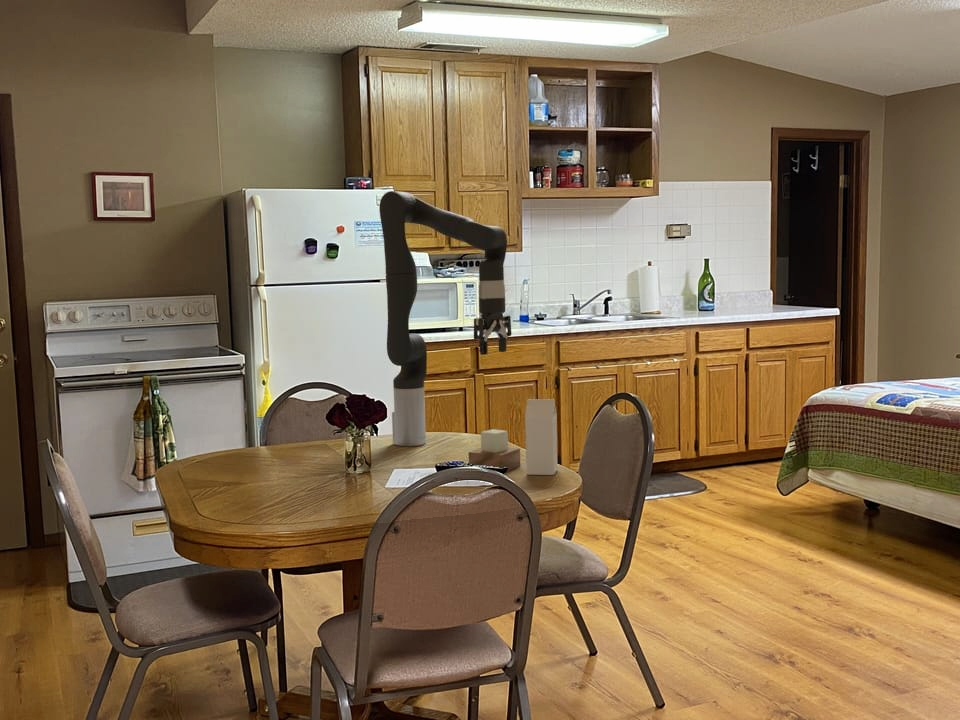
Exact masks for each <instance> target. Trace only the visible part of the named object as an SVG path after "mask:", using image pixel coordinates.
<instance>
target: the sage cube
mask: <svg viewBox="0 0 960 720" xmlns="http://www.w3.org/2000/svg"><path fill="white" fill-rule="evenodd" d="M508 436H509V435H508V430H502V429H493V428H492V429H488V430H483V431H481V432H480V446H481V447H480V448H481V451H487V452H494V453H497V452H501V451H505V450H508V448H509V445H508V444H509V442H508V441H509V440H508V439H509V437H508Z"/></svg>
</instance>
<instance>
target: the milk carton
mask: <svg viewBox="0 0 960 720" xmlns="http://www.w3.org/2000/svg"><path fill="white" fill-rule="evenodd" d="M557 415H558V413H557V409H556V401H555V399H554V398H553V399H552V398H549V399H546V398H544V399H543V398H542V399H541V398H538V399H537V398H532V399H531V398H527V399H526V408H525V415H524V417H525V418H524V421H525V423H524V424H525V425H524V426H525V427H524V428H525V461H526V462H525V467H526V469H525V470H526V471H525V473H526V475H533V476H535V475H536V476H537V475H538V476H540V475H541V476H555V474H556V472H557V471H558V428H557V427H558V423H557V422H558V420H557Z"/></svg>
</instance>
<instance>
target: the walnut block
mask: <svg viewBox="0 0 960 720" xmlns="http://www.w3.org/2000/svg"><path fill="white" fill-rule="evenodd" d="M469 464H474V465H486V466H493V467H499V468H504V467H507V468H508V470H509V471H511V470H513V469H516V468H518V467H521V448H519V447H518V448H517V447H508V450H505V451H501V452H497V453H494V452H487V451H481V447H480V448H477V449H474V450H472V451H469V452H468V465H469Z"/></svg>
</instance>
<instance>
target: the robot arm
mask: <svg viewBox="0 0 960 720" xmlns="http://www.w3.org/2000/svg"><path fill="white" fill-rule="evenodd" d="M379 218H380V222H381V230H382V238H383V247H384V249H383V250H384V262H385V264H384V265H385V287H386V297H387V298H386V300H387V301H386V302H387V304H386V305H387V330H386V332H387V333H386V353H387V356H388V359H389V361H390V363H392V364H393V365H395V366H398V367H401V368H400V371H399V372H398V374H397V375H396V376H395V377H394V378H393V382H392V383H393V406H394V408H393V410H394V411H392V413H391V420H392V421H391V422H392V423H391V424H392V425H391V426H392V427H391V428H392V444H395V445H396V446H401V447H413V446H416V447H417V446H422V445H425V444H426V443H427V440H426V439H427V436H426V431H427V430H426V408H425V407H426V405H425V404H426V403H425V402H426V401H425V397H426V396H425V380H426V377H427V367H428V365H427V363H428V362H427V361H428V357H427V356H428V352H427V351H428V350H427V343H426V342H425V339H424V338H423V337H422V335H420V334H418V333H415V332H414V333H410V329H409V327H410V326H409V323H410V322H409V321H410V313H411V311H412V308H413V305H414V303H415V300H416V296H417V293H418V272H417V264H416V262H415V259H414V257H413V254H412V252H411V250H410V247H409V245H408V241H407V238H406V237H407V236H406V224H416V225H420V226H426V227H428V228H429V229H433V230H434V231H435V232H438V233H440V234H441V235H443V236H446V237H448V238H451V239H453V240H456V241H459V242H462V243H466V244H467V245H469V246H471V247H473V248H476V249H478V250H480V251H484V255H483V256H484V258H483V259H482V260H481V261H480V262H479V265H478V312H479V314H481V317H475V318H474V319H473V340H477V341H478V344H479V345H478V346H479V353H480V355H482V356H485V355H488V353H489V351H488V349H489V348H488V347H489V346H488V339H489V336H490V335H492V333H495V334H496V335H497V337H498V351H499V352H500V353H506V352H507V348H508V347H507V339H508V337H511V336H512V320H511V319H512V318H511V316H510V315H504V313H505V312H506V287H505V276H504V275H505V271H504V266H505V265H504V263H505V259H506V255H507V254H506V253H507V249H508V237H507V234H506V232H505V230H504V229H503V228H502V227H501V226H497V225H487V224H482V223H479V222H476V221H475V220H474V219H472V218H470V217H468V216H464V215H461V214H458V213H455V212H452V211H448V210H445V209H442V208H439V207H437V206H434V205H432V204H429V203H427V202H425V201H423V200H422V199H420V198H419V197H416V196H415V195H414V194H413V195H412V194H411V193H409V192H406V191H398V190H397V191H396V190H390V191H387V192H385V193H384V194H383V195H382V197H381V198H380V201H379Z"/></svg>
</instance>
